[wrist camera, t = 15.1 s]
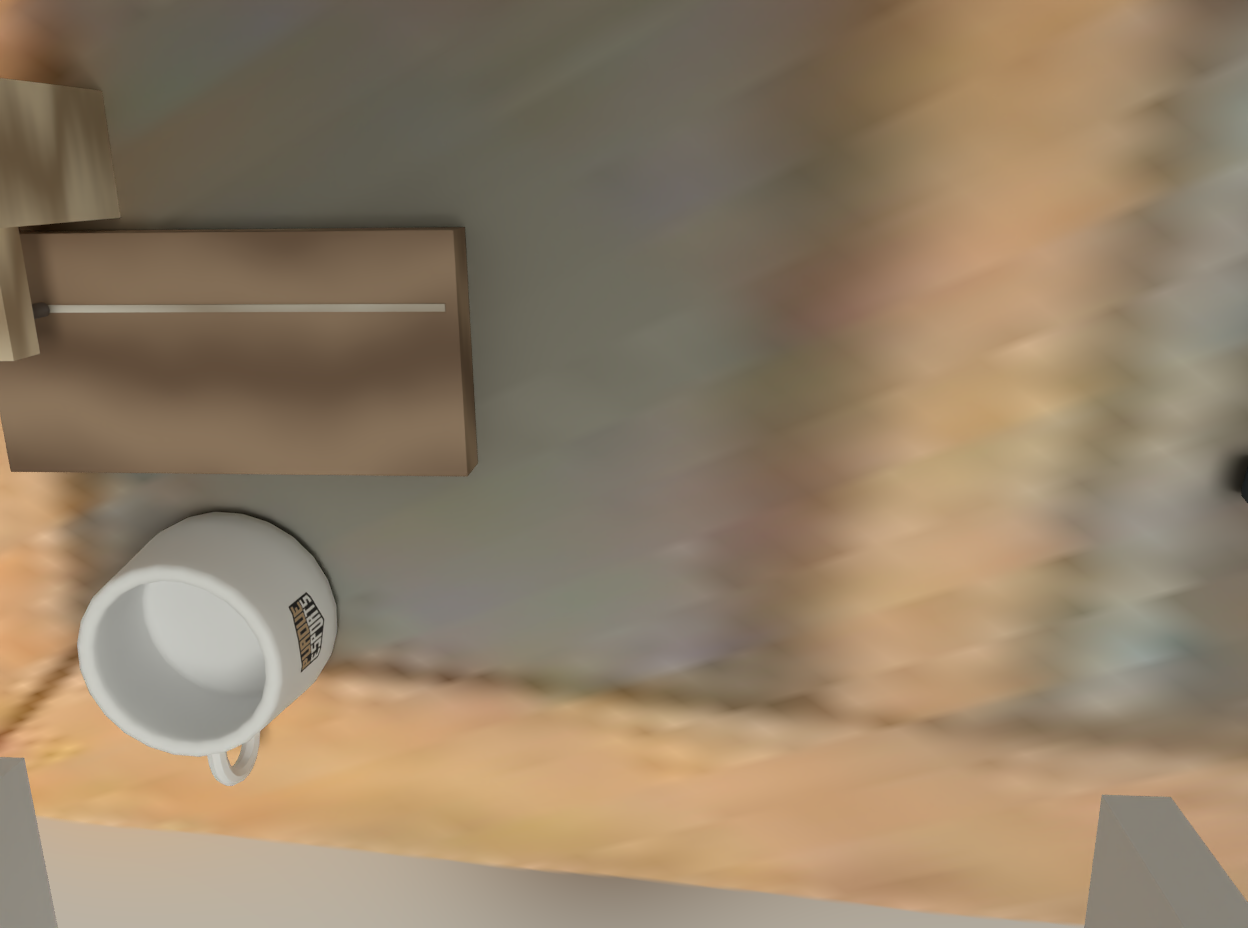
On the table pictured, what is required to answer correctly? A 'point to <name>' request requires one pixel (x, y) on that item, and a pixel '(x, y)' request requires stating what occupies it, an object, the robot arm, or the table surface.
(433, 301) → the board
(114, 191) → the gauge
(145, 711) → the mug
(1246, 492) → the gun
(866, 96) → the table surface
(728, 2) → the table surface
